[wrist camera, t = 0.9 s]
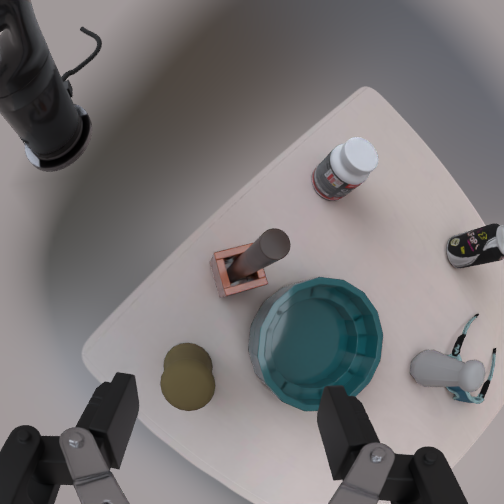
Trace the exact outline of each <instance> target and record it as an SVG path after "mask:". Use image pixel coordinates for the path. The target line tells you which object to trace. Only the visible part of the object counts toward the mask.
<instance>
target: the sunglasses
mask: <svg viewBox="0 0 504 504" xmlns="http://www.w3.org/2000/svg"><path fill="white" fill-rule="evenodd" d="M478 315H479V314H476V315H475V316H474V317H473V318H472V319H471V320H469V322H468V323H467V324H466V326H465V328H464V330H463V333H462V335H460V336H459V337H458V339H457V341H456V343H455V345H454V348H453V350H452V354H450V355H447V356H449V357H452V358H455V359H457V360H459V361H462V359H461V357H460V354H459V353H460V349H461V346H462V343H463V340H464V338H465V336H466V333H467V330H468V328H469V326H470V324H471V323H472V321H473V320H474V319H475V318H477V316H478ZM495 355H496V348H495V349H493V358H492V366H491V371H490V375H489V377H488V380H487V381H486V382H485V383H484V385H483V387H482V389H481V392H480V394H478V396H477V397H472V396H471V395H470V393H469V392H466V391H464V390H462V389H461V388H460V386H451V387H446V388H447V390H448V391H450V392H452V393H454V395H455V396H454V397H453V399H454V400H458V401H462V402H468V403H476V404H480V403H482V402H483V401H484V397H485V394H486V392H487V390H488V387H489V384H490V381H491V379H492V376H493V371H494V366H495Z"/></svg>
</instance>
